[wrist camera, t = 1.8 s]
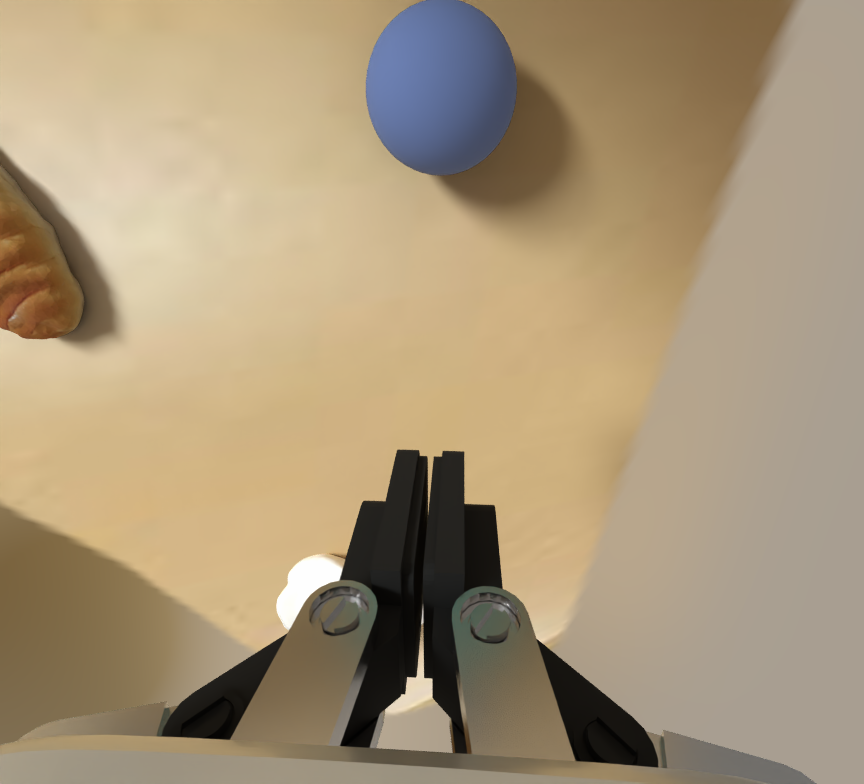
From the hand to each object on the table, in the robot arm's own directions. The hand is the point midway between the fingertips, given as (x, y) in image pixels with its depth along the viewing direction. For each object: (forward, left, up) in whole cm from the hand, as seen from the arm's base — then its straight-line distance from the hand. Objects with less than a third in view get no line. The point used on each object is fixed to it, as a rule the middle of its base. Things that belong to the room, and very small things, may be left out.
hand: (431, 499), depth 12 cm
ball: (-9, +5, -11) cm, 15 cm away
